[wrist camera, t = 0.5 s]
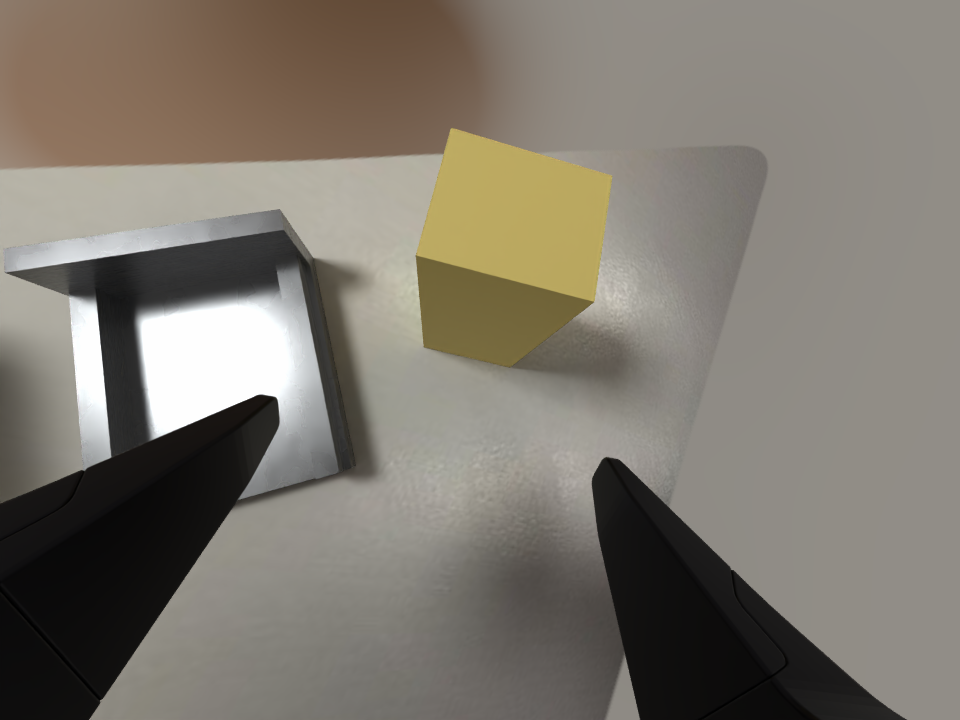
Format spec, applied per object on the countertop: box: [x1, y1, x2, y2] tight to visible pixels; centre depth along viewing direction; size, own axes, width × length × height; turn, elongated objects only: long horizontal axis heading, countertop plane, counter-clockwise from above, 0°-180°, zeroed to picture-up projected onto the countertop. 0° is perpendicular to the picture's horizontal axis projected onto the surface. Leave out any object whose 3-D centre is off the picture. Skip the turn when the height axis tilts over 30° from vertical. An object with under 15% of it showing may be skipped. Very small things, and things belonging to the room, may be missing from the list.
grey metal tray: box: [4, 209, 356, 500], centre depth 18 cm, size 14×12×5 cm
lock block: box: [416, 128, 612, 367], centre depth 18 cm, size 5×6×12 cm
